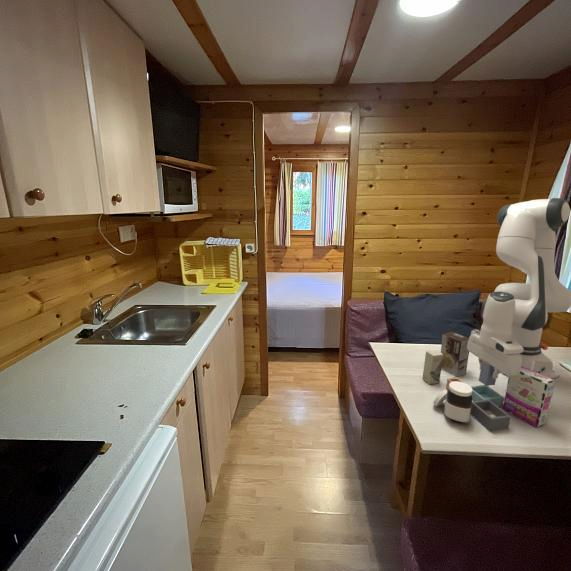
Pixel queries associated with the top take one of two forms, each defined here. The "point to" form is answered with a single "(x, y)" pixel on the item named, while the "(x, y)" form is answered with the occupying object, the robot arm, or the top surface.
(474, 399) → the trough
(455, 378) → the cup
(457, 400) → the spread jar
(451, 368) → the coffee box
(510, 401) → the candy bar box
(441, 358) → the box
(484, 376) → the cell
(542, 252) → the robot arm
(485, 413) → the box
